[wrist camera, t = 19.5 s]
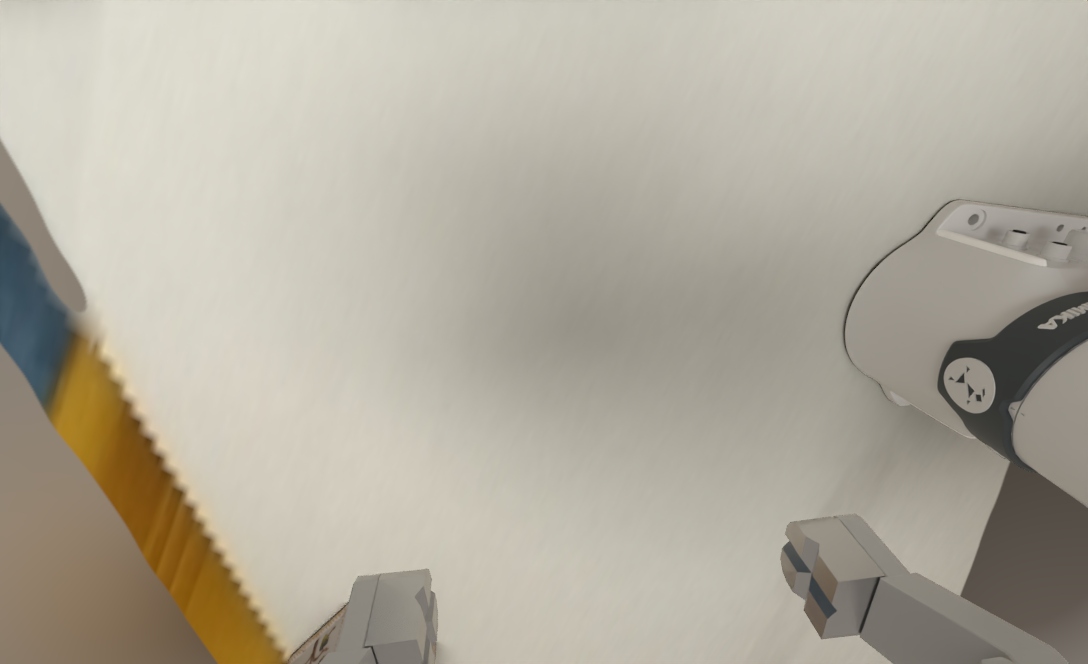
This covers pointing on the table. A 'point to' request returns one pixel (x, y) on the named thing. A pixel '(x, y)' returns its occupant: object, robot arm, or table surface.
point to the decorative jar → (324, 642)
